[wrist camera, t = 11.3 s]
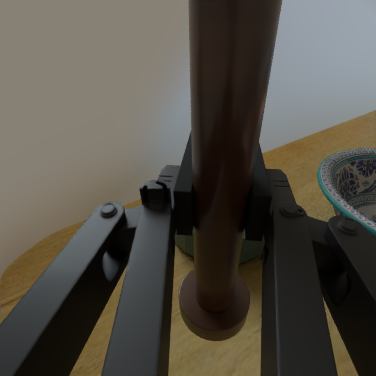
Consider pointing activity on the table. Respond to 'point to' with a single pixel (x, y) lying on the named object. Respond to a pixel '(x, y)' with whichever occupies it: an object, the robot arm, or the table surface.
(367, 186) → the bowl
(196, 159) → the spurtle
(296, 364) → the robot arm
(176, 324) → the table surface
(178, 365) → the table surface
